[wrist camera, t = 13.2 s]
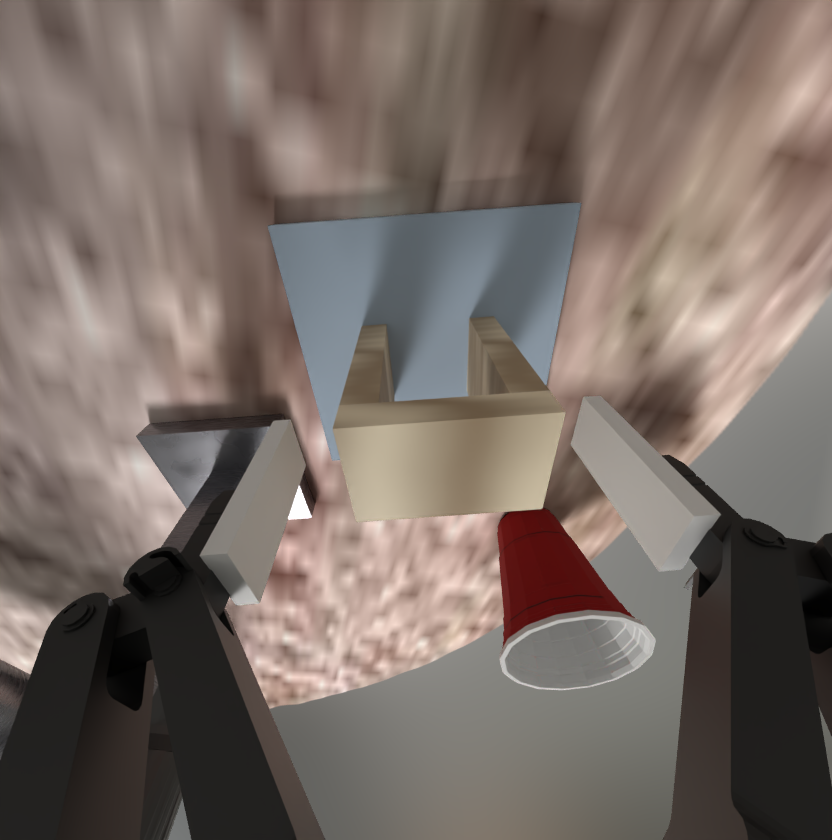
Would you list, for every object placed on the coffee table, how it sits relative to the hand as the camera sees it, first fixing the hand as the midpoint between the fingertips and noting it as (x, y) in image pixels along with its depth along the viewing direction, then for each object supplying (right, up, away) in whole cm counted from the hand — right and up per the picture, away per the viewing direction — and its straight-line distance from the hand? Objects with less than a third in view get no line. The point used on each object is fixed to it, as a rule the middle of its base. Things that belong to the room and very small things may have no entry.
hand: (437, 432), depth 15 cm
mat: (0, +5, +7) cm, 9 cm away
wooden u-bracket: (0, +5, +6) cm, 8 cm away
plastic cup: (+10, -10, +18) cm, 23 cm away
